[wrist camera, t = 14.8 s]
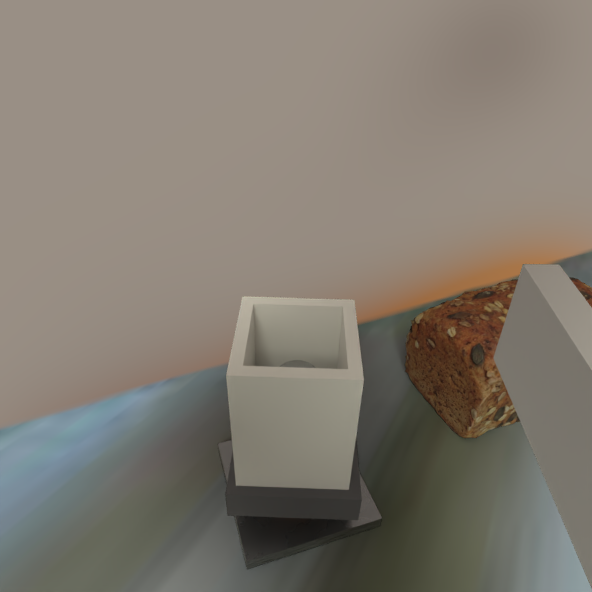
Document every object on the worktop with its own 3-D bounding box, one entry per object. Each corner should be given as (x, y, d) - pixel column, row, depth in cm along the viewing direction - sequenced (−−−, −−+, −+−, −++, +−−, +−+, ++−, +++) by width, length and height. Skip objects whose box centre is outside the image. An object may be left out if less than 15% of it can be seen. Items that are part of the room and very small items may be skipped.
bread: (463, 452, 41) (493, 365, 35) (395, 370, 49) (410, 288, 43) (617, 391, 47) (664, 308, 41) (534, 327, 55) (564, 250, 49)
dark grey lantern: (330, 422, 43) (339, 315, 36) (380, 525, 35) (404, 414, 28) (218, 451, 40) (206, 341, 34) (247, 569, 33) (238, 458, 26)
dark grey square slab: (350, 417, 40) (352, 397, 38) (358, 520, 33) (361, 499, 31) (243, 414, 40) (241, 393, 38) (227, 515, 33) (225, 494, 31)
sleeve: (343, 404, 38) (354, 299, 32) (348, 489, 32) (363, 380, 26) (248, 400, 38) (242, 296, 32) (235, 485, 32) (226, 375, 26)
